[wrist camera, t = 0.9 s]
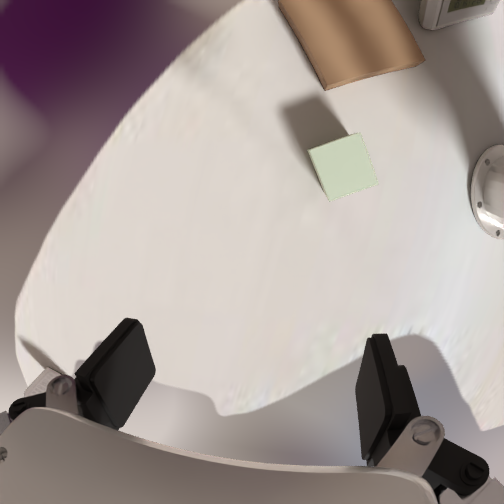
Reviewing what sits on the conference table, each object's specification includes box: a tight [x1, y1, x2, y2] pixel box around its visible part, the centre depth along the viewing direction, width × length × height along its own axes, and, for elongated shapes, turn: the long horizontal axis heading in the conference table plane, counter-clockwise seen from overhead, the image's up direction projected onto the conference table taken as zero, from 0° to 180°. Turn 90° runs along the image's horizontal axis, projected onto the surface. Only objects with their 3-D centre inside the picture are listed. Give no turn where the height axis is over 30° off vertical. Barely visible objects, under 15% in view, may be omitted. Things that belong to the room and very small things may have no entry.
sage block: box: [307, 133, 379, 202], centre depth 27 cm, size 5×5×6 cm
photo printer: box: [24, 367, 61, 397], centre depth 48 cm, size 10×4×12 cm, turn 81°
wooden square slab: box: [278, 0, 425, 91], centre depth 22 cm, size 12×12×3 cm
